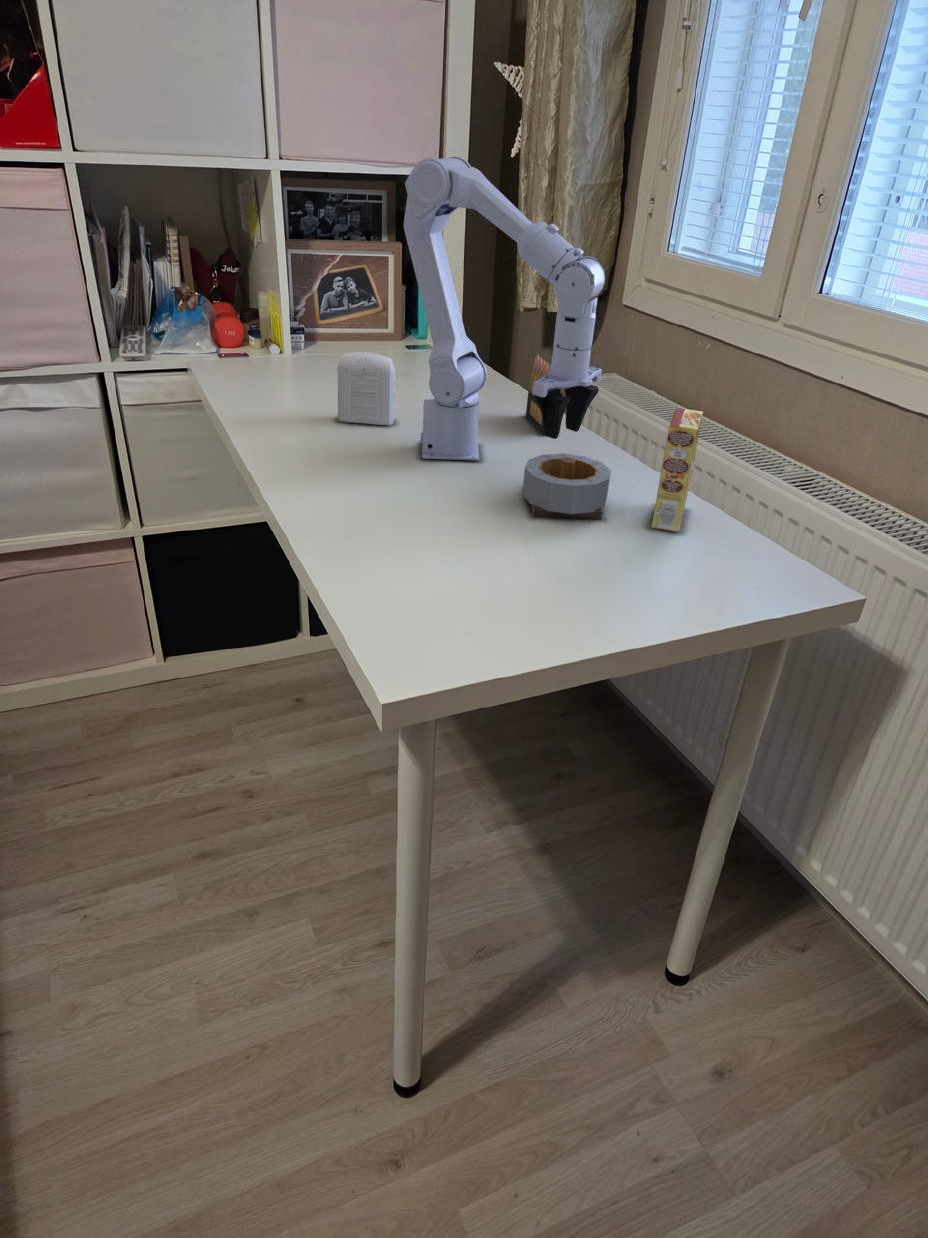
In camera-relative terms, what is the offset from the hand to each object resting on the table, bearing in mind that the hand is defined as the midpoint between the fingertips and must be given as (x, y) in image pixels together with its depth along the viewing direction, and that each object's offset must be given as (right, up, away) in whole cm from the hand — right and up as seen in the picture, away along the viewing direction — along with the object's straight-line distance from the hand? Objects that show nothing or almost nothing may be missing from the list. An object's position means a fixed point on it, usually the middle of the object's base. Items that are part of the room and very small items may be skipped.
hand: (561, 433), depth 134 cm
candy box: (+14, -15, -9) cm, 23 cm away
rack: (-1, -12, -6) cm, 14 cm away
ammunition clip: (-2, +7, +24) cm, 25 cm away
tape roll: (0, -11, -7) cm, 13 cm away
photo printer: (-33, +7, +21) cm, 40 cm away
